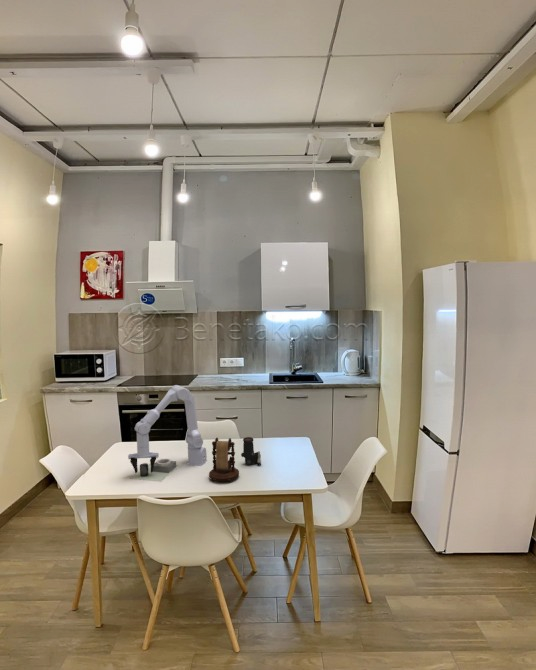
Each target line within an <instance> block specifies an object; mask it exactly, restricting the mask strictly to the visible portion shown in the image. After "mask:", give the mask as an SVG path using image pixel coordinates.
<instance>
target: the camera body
mask: <svg viewBox="0 0 536 670" xmlns="http://www.w3.org/2000/svg"><path fill="white" fill-rule="evenodd" d="M176 465H177V461H175V460H171V459H170V458H161V459H159V460H156V461H155V463H154V467H153V472H163V473H170V472H171V471H172V470H173V469H175V468H176ZM175 470H176V469H175Z"/></svg>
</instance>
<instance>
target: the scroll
mask: <svg viewBox="0 0 536 670" xmlns="http://www.w3.org/2000/svg"><path fill="white" fill-rule="evenodd" d="M211 445H212V452H211V454H212V456H213V457H212V465H213V467H212V469H211V470H210V471H209V473H208V478H210V480H211V482H213V481H217V482H218V481H219V482H226V481H229V482H230V483H232V481H233V480H234V479H236V478H238V477H239V475H240V470H239V469H238V468H236V467H235V465H236V461H235V459H236V458H235V454H236V451H235V442H234V441H232V438H231V437H230V438H228V440H219V437H216V438H215V440H214V441H212V443H211ZM230 455H231V456H230Z"/></svg>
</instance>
